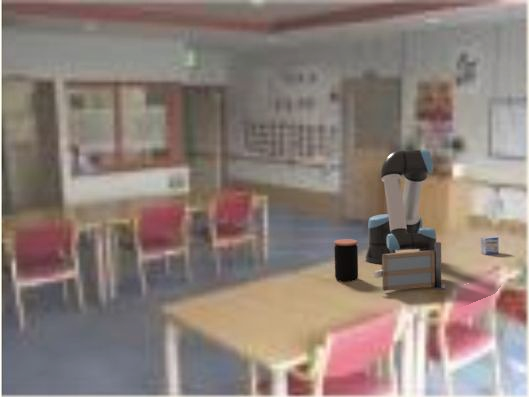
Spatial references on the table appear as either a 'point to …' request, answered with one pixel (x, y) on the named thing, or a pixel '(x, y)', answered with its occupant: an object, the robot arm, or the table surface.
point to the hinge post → (438, 268)
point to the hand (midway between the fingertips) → (375, 274)
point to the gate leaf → (408, 270)
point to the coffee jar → (346, 260)
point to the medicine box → (489, 245)
